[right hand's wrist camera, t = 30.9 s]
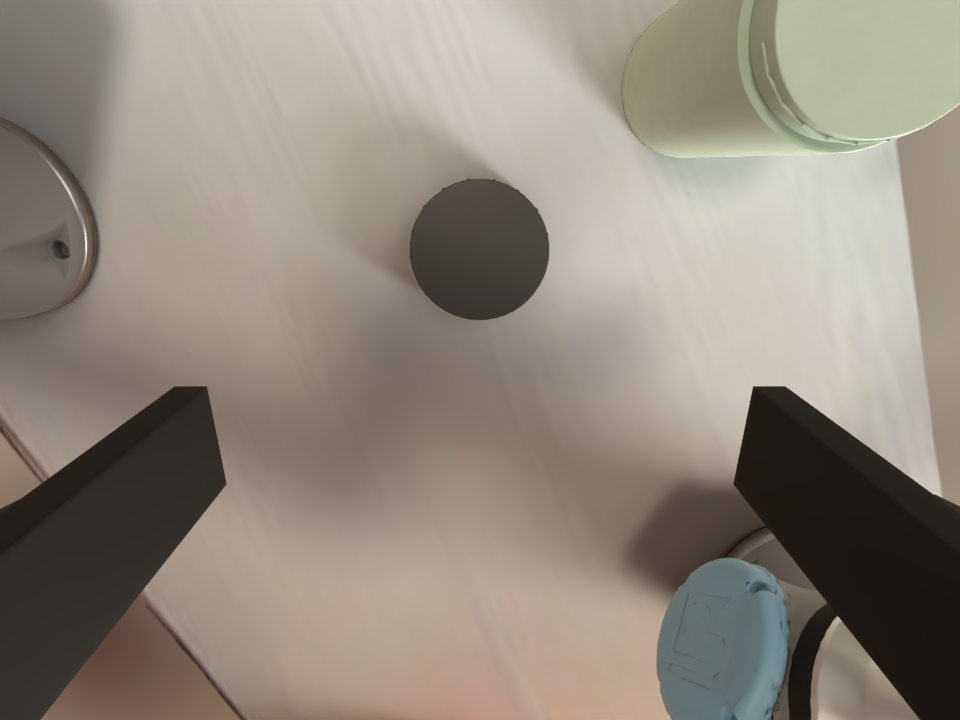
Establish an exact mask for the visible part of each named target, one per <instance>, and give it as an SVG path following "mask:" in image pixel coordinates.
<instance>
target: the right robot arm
mask: <svg viewBox="0 0 960 720" xmlns="http://www.w3.org/2000/svg"><path fill="white" fill-rule="evenodd" d="M96 253H97V235H96V228H95V223H94V218H93V215H92V212H91V209H90V206H89V204H88V201H87V199H86V197H85V195H84V193H83V191H82V189H81V187H80V185H79V184H78V182H77V180H76V179H75V177H74V176H73V175H72V173H71V172H70V170H69V169H68V168H67V167H66V165H65V164H64V163H63V162H62V161H61V160H60V159H59V157H58V156H57V155H56V154H55V153H54V152H53V151H52V150H50V149H49V148H48V147H47V146H46V145H45V144H44V143H42V142H41V141H40V140H39V139H37V138H36V137H35V136H33V135H32V134H30V133H29V132H27V131H26V130H24V129H22V128H20V127H18V126H17V125H15V124H13V123H10V122H8V121H6V120H4V119H1V118H0V320H12V319H22V318H29V317H33V316H37V315H40V314H43V313H45V312H48V311H51V310H54V309H57V308H59V307H61V306H63V305H65V304H66V303H68V302H69V301H71V300H72V299H73V298H75V297H76V296H77V295H78V294H79V293H80V292H81V290H82V289H83V288H84V287H85V285H86V284H87V282H88V280H89V278H90V276H91V274H92V271H93V268H94V265H95V260H96ZM225 485H226V479H225V474H224V469H223V464H222V459H221V455H220V450H219V445H218V440H217V435H216V430H215V425H214V420H213V415H212V410H211V405H210V400H209V395H208V391H207V387H173V388H172V389H171V390H169V391H168V392H167V393H165V394H164V395H162V396H161V397H160V398H158V399H157V400H156V401H154V402H153V403H152V404H150V405H149V406H147V407H146V408H145V409H143V410H142V411H141V412H139V413H138V414H136V415H135V416H134V417H132V418H131V419H130V420H128V421H127V422H125V423H124V424H123V425H121V426H120V427H119V428H117V429H116V430H115V431H113V432H112V433H110V434H109V435H108V436H106V437H105V438H104V439H102V440H101V441H99V442H98V443H97V444H95V445H94V446H93V447H91V448H90V449H89V450H87V451H86V452H84V453H83V454H82V455H80V456H79V457H78V458H76V459H75V460H73V461H72V462H71V463H69V464H68V465H67V466H65V467H64V468H62V469H61V470H60V471H58V472H57V473H56V474H54V475H53V476H52V477H50V478H49V479H47V480H46V481H45V482H43V483H42V484H41V485H39V486H38V487H36V488H35V489H34V490H32V491H31V492H30V493H28V494H27V495H25V496H24V497H23V498H21V499H19V500H17V501H15V502H13V503H11V504H9V505H7V506H5V507H3V508H1V509H0V720H40V719H41V718H42V717H43V716H44V714H45V713H46V712H47V710H48V709H49V708H50V707H51V705H52V704H53V703H54V702H55V700H56V699H57V698H58V697H59V695H60V694H61V693H62V692H63V690H64V689H65V688H66V686H67V685H68V684H69V683H70V681H71V680H72V679H73V678H74V676H75V675H76V674H77V673H78V671H79V670H80V669H81V667H82V666H83V665H84V664H85V662H86V661H87V660H88V659H89V657H90V656H91V655H92V654H93V652H94V651H95V650H96V649H97V647H98V646H99V645H100V644H101V642H102V641H103V640H104V638H105V637H106V636H107V635H108V633H109V632H110V631H111V630H112V628H113V627H114V626H115V625H116V623H117V622H118V621H119V620H120V618H121V617H122V616H123V614H124V613H125V612H126V611H127V609H128V608H129V607H130V606H131V604H132V603H133V602H134V601H135V599H136V598H137V597H138V595H139V594H140V593H141V592H142V590H143V589H144V588H145V587H146V585H147V584H148V583H149V582H150V580H151V579H152V578H153V577H154V575H155V574H156V573H157V571H158V570H159V569H160V568H161V566H162V565H163V564H164V563H165V561H166V560H167V559H168V558H169V556H170V555H171V554H172V552H173V551H174V550H175V549H176V547H177V546H178V545H179V544H180V542H181V541H182V540H183V539H184V537H185V536H186V535H187V534H188V532H189V531H190V530H191V528H192V527H193V526H194V525H195V523H196V522H197V521H198V520H199V518H200V517H201V516H202V515H203V513H204V512H205V511H206V510H207V508H208V507H209V506H210V504H211V503H212V502H213V501H214V499H215V498H216V497H217V496H218V494H219V493H220V492H221V491H222V489H223V488H224V487H225ZM734 485H735V487H736V488H737V489H738V491H739V492H740V493H741V494H742V496H743V497H744V498H745V499H746V501H747V502H748V503H749V504H750V506H751V507H752V508H753V510H754V511H755V512H756V513H757V515H758V516H759V517H760V518H761V520H762V521H763V522H764V523H765V525H766V526H767V527H768V528H769V530H770V531H771V532H772V534H773V535H774V536H775V537H776V539H777V540H778V541H779V542H780V544H781V545H782V546H783V547H784V549H785V550H786V551H787V552H788V554H789V555H790V556H791V558H792V559H793V560H794V561H795V563H796V564H797V565H798V566H799V568H800V569H801V570H802V571H803V573H804V574H805V575H806V577H807V578H808V579H809V580H810V582H811V583H812V584H813V585H814V587H815V588H816V589H817V590H818V592H819V593H820V594H821V595H822V597H823V598H824V599H825V601H826V602H827V603H828V604H829V606H830V607H831V608H832V609H833V611H834V612H835V613H836V614H837V616H838V617H839V618H840V620H841V621H842V622H843V623H844V625H845V626H846V627H847V628H848V630H849V631H850V632H851V633H852V635H853V636H854V637H855V638H856V640H857V641H858V642H859V644H860V645H861V646H862V647H863V649H864V650H865V651H866V652H867V654H868V655H869V656H870V657H871V659H872V660H873V661H874V662H875V664H876V665H877V666H878V668H879V669H880V670H881V671H882V673H883V674H884V675H885V676H886V678H887V679H888V680H889V681H890V683H891V684H892V685H893V687H894V688H895V689H896V690H897V692H898V693H899V694H900V695H901V697H902V698H903V699H904V700H905V702H906V703H907V704H908V705H909V707H910V708H911V709H912V711H913V712H914V713H915V714H916V716H917V717H918V718H919V719H920V720H960V507H959V506H957V505H955V504H953V503H951V502H949V501H947V500H945V499H943V498H941V497H939V496H937V495H933V494H932V493H930V492H929V491H928V490H926V489H925V488H924V487H922V486H921V485H919V484H918V483H917V482H915V481H914V480H913V479H911V478H910V477H908V476H907V475H906V474H904V473H903V472H902V471H900V470H899V469H898V468H896V467H895V466H893V465H892V464H891V463H889V462H888V461H887V460H885V459H884V458H882V457H881V456H880V455H878V454H877V453H876V452H874V451H873V450H871V449H870V448H869V447H867V446H866V445H865V444H863V443H862V442H861V441H859V440H858V439H856V438H855V437H854V436H852V435H851V434H850V433H848V432H847V431H845V430H844V429H843V428H841V427H840V426H839V425H837V424H836V423H835V422H833V421H832V420H830V419H829V418H828V417H826V416H825V415H824V414H822V413H821V412H819V411H818V410H817V409H815V408H814V407H813V406H811V405H810V404H808V403H807V402H806V401H804V400H803V399H802V398H800V397H799V396H798V395H796V394H795V393H793V392H792V391H791V390H789V389H788V388H787V387H753V391H752V395H751V400H750V405H749V410H748V415H747V420H746V425H745V430H744V435H743V440H742V445H741V450H740V455H739V459H738V464H737V469H736V474H735V479H734Z"/></svg>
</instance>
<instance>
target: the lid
mask: <svg viewBox="0 0 960 720" xmlns="http://www.w3.org/2000/svg"><path fill="white" fill-rule="evenodd" d="M410 258H411V264H412V268H413V272H414V274H415V277H416V279H417V281H418V283H419V285H420V287H421V288H422V290H423V291H424V292H425V294H426V295H427V296H428V297H429V298H430V299H431V300H432V301H433V302H434V303H435V304H436V305H437V306H439V307H440V308H442V309H443V310H445V311H447V312H449V313H451V314H453V315H455V316H458V317H461V318H466V319H472V320H487V319H493V318H498V317H501V316H504V315H506V314H508V313H511V312H513V311H514V310H516V309H517V308H519V307H521V306H522V305H523V304H524V303H525V302H527V301H528V300H529V298H530V297H531V296H532V295H533V294H534V293H535V291H536V290H537V289H538V287H539V285H540V283H541V282H542V280H543V277H544V275H545V272H546V269H547V265H548V260H549V259H548V258H549V241H548V233H547V231H546V227H545V225H544V222H543V220H542V218H541V216H540V214H539V213H538V209H537V208H535V207H534V206H533V204H532V203H531V202H530V201H529V200H528V199H527V198H526V197H525V196H524V195H522V194H521V193H520V192H519V190H518V189H517V190H516V189H514V188H512V187H510V186H508V185H507V184H504V183H501V182H498V181H495V179H493V180H490V179H470V180H469V179H467V180H465V181H461V182H458V183H455V184H453V185H451V186H449V187H447V188H443V189H442V191H441V192H439V193H438V194H437V195H435V196H434V197H433V198H432V199H431V200H430V201H429V202H428V203H427V205H425V206H424V207H423V210H422V211H421V213H420V215H419V216H418V218H417V220H416V223H415V225H414V228H413V230H412V235H411V242H410Z"/></svg>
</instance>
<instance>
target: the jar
mask: <svg viewBox="0 0 960 720" xmlns="http://www.w3.org/2000/svg"><path fill="white" fill-rule="evenodd" d="M622 103H623V108H624V113H625V116H626V119H627V121H628V123H629V125H630V127H631V129H632V131H633V132H634V134H635V135H636V137H637V138H638V139H639V140H640V141H641V142H642V143H643V144H644V145H646V146H647V147H648V148H650V149H651V150H653V151H655V152H657V153H659V154H662V155H664V156H669V157H674V158H698V157H733V156H768V155H803V154H835V153H849V152H854V151H860V150H864V149H867V148H870V147H873V146H876V145H879V144H881V143H883V142H886V141H891V140H894V139H897V138H899V137H902V136H904V135H907V134H909V133H912V132H914V131H917V130H920V129H923V128H925V127H926V126H927V125H929V124H930V123H932V122H934V121H935V120H937V119H939V118H940V117H942V116H944V115H945V114H946V113H948V112H949V111H951V110H952V109H954V108H955V107H956V106H957V105H959V104H960V0H680V1H679V2H678V3H677V4H675V5H674V6H673V7H672V8H671V9H669V10H668V11H667V12H666V13H664V14H663V15H662V16H661V17H659V18H658V19H657V20H656V21H655V22H654V23H653V24H651V25H650V26H649V27H648V28H647V29H646V31H645V32H644V33H643V34H642V35H641V37H640V38H639V39H638V41H637V42H636V44H635V46H634V48H633V49H632V51H631V53H630V56H629V58H628V61H627V63H626V67H625V70H624V75H623V81H622Z"/></svg>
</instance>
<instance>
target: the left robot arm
mask: <svg viewBox="0 0 960 720" xmlns="http://www.w3.org/2000/svg"><path fill="white" fill-rule="evenodd" d="M657 676H658V679H659V681H660V693H661V696H662V700H663V703H664V705H665V708H666V710H667V712H668V714H669V716H670V718H671V719H672V720H920V719H919V718H918V717H917V716H916V714H915V713H914V712H913V711H912V709H911V708H910V707H909V705H908V704H907V703H906V702H905V700H904V699H903V698H902V697H901V695H900V694H899V693H898V692H897V690H896V689H895V688H894V687H893V685H892V684H891V683H890V681H889V680H888V679H887V678H886V676H885V675H884V674H883V673H882V671H881V670H880V669H879V668H878V666H877V665H876V664H875V662H874V661H873V660H872V659H871V657H870V656H869V655H868V654H867V652H866V651H865V650H864V649H863V647H862V646H861V645H860V644H859V642H858V641H857V640H856V638H855V637H854V636H853V635H852V633H851V632H850V631H849V630H848V628H847V627H846V626H845V625H844V623H843V622H842V621H841V620H840V618H839V617H838V616H837V614H836V613H835V612H834V611H833V609H832V608H831V607H830V606H829V604H828V603H827V602H826V601H825V599H824V598H823V597H822V595H821V594H820V593H819V592H818V590H817V589H816V588H815V587H814V585H813V584H812V583H811V582H810V580H809V579H808V578H807V577H806V575H805V574H804V573H803V571H802V570H801V569H800V568H799V566H798V565H797V564H796V563H795V561H794V560H793V559H792V558H791V556H790V555H789V554H788V552H787V551H786V550H785V549H784V547H783V546H782V545H781V544H780V542H779V541H778V540H777V539H776V537H775V536H774V535H773V534H772V532H771V531H770V530H769V528H768V527H766V528H764V529H761V530H759V531H757V532H755V533H754V534H752V535H750V536H749V537H747V538H746V539H744V540H743V541H742V542H740V543H739V544H738V545H737V546H736V547H735V548H734V549H733V550H732V551H731V552H730V553H729V554H728V555H727V556H726V558H721V559H716V560H713V561H710V562H708V563H706V564H704V565H702V566H700V567H699V568H698V569H696V570H695V571H694V572H692V573H691V574H690V576H689V577H688V579H687V580H686V582H685V583H684V584H683V585H681V586H680V587H679V588H678V590H677V591H676V593H675V594H674V596H673V598H672V600H671V602H670V604H669V606H668V608H667V610H666V613H665V616H664V619H663V622H662V625H661V629H660V634H659V639H658V645H657Z"/></svg>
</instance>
